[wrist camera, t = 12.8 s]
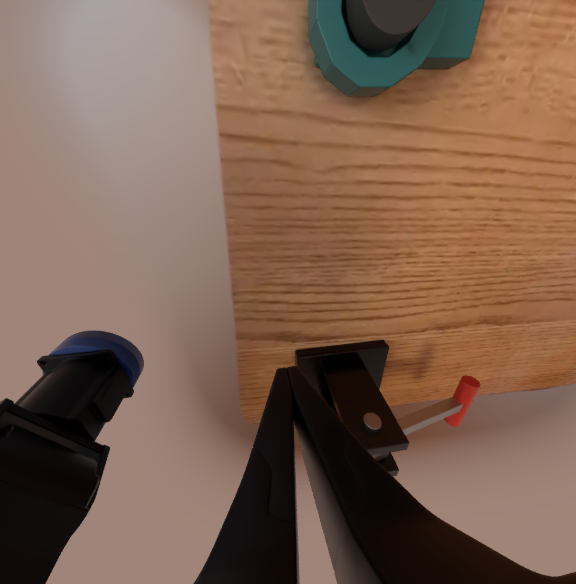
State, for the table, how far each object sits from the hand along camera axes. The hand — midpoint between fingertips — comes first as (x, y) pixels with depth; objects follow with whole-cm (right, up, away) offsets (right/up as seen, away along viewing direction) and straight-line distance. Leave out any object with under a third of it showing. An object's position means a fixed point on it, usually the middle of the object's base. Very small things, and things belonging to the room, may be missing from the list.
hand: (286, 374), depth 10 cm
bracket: (+6, -6, +17) cm, 19 cm away
